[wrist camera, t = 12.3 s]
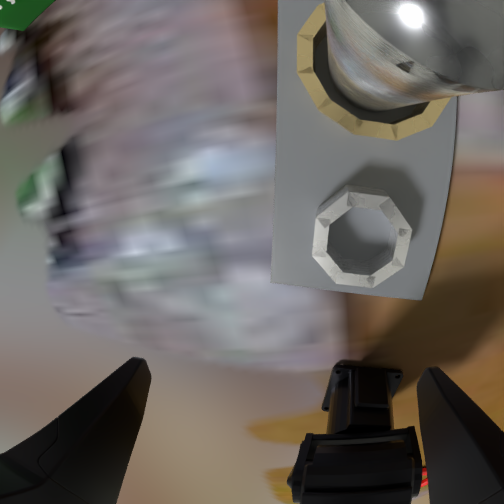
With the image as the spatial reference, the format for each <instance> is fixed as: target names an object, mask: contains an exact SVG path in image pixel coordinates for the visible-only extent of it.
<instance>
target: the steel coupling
mask: <svg viewBox="0 0 504 504" xmlns="http://www.w3.org/2000/svg"><path fill="white" fill-rule="evenodd" d="M324 2H325V13H326V27H327V43H328V64H329V74H330V78H331V81H332V83H333V85H334V87H335V89H336V90H337V92H338V93H339V94H340V95H341V96H342V97H343V98H344V99H345V100H346V101H348V102H349V103H350V104H352V105H354V106H356V107H358V108H360V109H363V110H367V111H374V112H379V111H386V110H391V109H395V108H399V107H404V106H408V105H413V104H418V103H423V102H428V101H433V100H438V99H443V98H449V97H455V96H461V95H467V94H474V93H481V92H489V91H497V90H504V0H324Z"/></svg>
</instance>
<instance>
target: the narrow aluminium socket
mask: <svg viewBox="0 0 504 504" xmlns="http://www.w3.org/2000/svg"><path fill="white" fill-rule="evenodd" d="M352 207H358V208H366V209H373V210H381V211H383V213H384V214H385V216H386V217H387V218H388V220H389V221H390V223H391V224H392V225H391V231H390V236H389V241H388V247H386V248H385V249H384V250H382V251H381V252H380V253H378V254H377V255H375V256H374V257H372V258H371V259H370V260H368V261H361V260H353V259H345V258H342V257H341V256H340V254H339V253H338V252H337V251H336V250H335V248H334V247H333V246H332V245H331V244H330V242H329V241H328V233H329V225H330V224H331V223H332V222H334V221H335V220H336V219H338V218H339V217H340V216H342V215H343V214H344V213H345V212H347V211H348V210H349V209H351V208H352ZM411 233H412V229H411V227H410V226H409V224H408V223H407V221H406V220H405V218H404V217H403V215H402V214H401V213H400V211H399V210H398V208H397V207H396V205H395V204H394V203H393V201H392V200H391V198H390V197H389V196H388V194H387V193H386V192H385V190H384V189H377V188H370V187H362V186H354V185H345V186H344V187H343V188H342V189H340V190H339V191H338V192H337V193H335V194H334V195H333V196H331V197H330V198H329V199H328V200H326V201H325V202H324V203H323V204H321V205H320V206H319V207H318V208H317V213H316V219H315V230H314V240H313V250H312V256H313V258H314V259H315V260H316V261H317V262H318V263H319V265H320V266H321V267H322V268H323V269H324V270H325V272H326V273H327V274H328V275H329V276H330V277H331V279H332V280H333V281H334V282H335V283H336V284H342V285H351V286H359V287H368V288H374V287H375V286H377V285H378V284H380V283H381V282H383V281H384V280H386V279H387V278H389V277H390V276H391V275H393V274H394V273H396V272H397V271H399V270H400V269H402V268H403V267H404V265H405V260H406V256H407V252H408V247H409V243H410V238H411Z"/></svg>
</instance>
